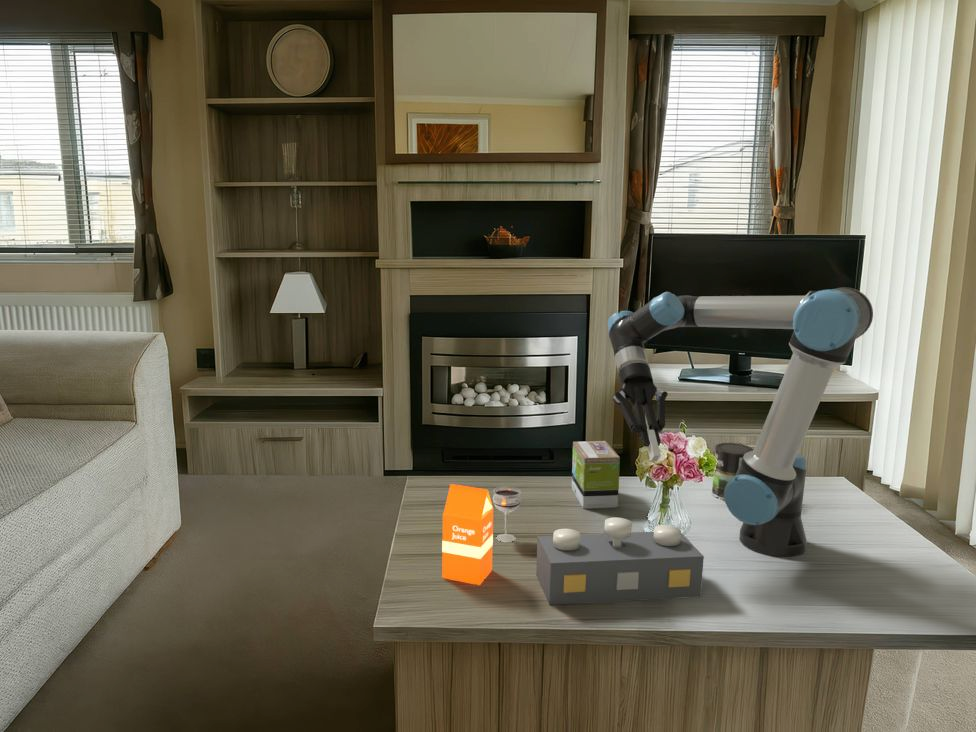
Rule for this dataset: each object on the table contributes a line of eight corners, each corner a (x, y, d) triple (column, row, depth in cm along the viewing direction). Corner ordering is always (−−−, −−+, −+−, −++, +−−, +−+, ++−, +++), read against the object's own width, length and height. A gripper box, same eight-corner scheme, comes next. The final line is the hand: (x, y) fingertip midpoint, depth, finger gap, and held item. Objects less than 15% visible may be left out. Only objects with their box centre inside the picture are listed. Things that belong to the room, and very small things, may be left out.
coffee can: (717, 501, 210) (721, 453, 208) (707, 488, 221) (711, 442, 218) (754, 502, 210) (758, 454, 207) (743, 489, 220) (747, 443, 218)
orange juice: (479, 585, 160) (481, 495, 156) (441, 578, 163) (442, 489, 159) (492, 569, 167) (494, 483, 163) (455, 563, 170) (456, 478, 166)
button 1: (575, 560, 162) (576, 528, 161) (581, 572, 157) (583, 539, 156) (549, 561, 162) (550, 529, 160) (555, 573, 156) (556, 540, 155)
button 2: (672, 556, 166) (675, 524, 164) (682, 567, 160) (685, 534, 159) (648, 557, 165) (650, 525, 163) (657, 568, 159) (659, 536, 158)
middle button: (625, 549, 164) (626, 517, 162) (633, 560, 158) (635, 527, 157) (599, 550, 163) (601, 517, 161) (607, 561, 157) (609, 528, 156)
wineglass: (502, 530, 188) (503, 484, 186) (525, 537, 184) (526, 490, 182) (486, 539, 183) (487, 491, 180) (509, 546, 179) (510, 498, 177)
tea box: (570, 489, 217) (572, 440, 215) (604, 489, 219) (606, 439, 216) (582, 509, 203) (584, 456, 200) (618, 508, 204) (621, 456, 201)
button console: (676, 568, 169) (679, 530, 168) (701, 597, 156) (704, 557, 155) (536, 575, 165) (537, 536, 163) (549, 605, 152) (551, 564, 150)
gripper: (654, 377, 185) (677, 465, 172) (603, 378, 183) (622, 467, 170) (664, 360, 179) (689, 449, 166) (611, 361, 177) (632, 451, 164)
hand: (655, 458), depth 168 cm, fingers closed
